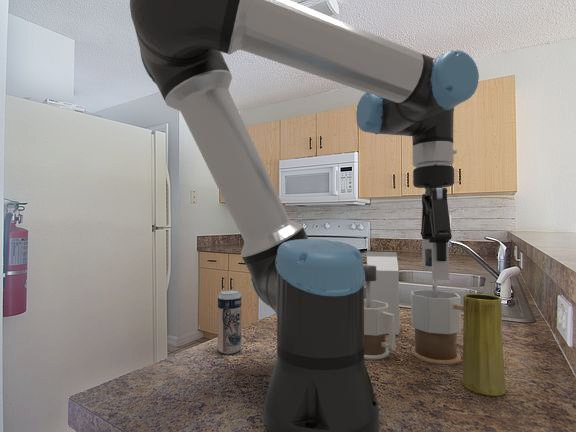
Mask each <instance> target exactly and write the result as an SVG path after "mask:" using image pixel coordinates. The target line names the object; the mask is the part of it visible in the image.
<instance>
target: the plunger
mask: <svg viewBox="0 0 576 432" xmlns="http://www.w3.org/2000/svg"><path fill="white" fill-rule="evenodd" d="M425 265H426V266H432V249H425ZM431 287H432V288H431V290H432V298H437V290H438V280H434V279H432V278H431Z"/></svg>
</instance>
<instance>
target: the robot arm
mask: <svg viewBox="0 0 576 432" xmlns="http://www.w3.org/2000/svg"><path fill="white" fill-rule="evenodd" d="M129 9H130V17H131V21H132V23H133V27H134V30H135V34H136V38H137V42H138V46H139V51H140V58H141V62H142V64H143V67H144V69H145V71H146V73H147V75H148V77H149V78H150V79H151V80H152V82H153V83H154V84H155V86H157V88H158V90H159V92H160V94H161V96H162V99H163V100H164V102H165V104H166V106H167V107H169V108H172V109H174V110H176V111H179V113H180V114H181V115H182V117H183V119H184V121H185V124H186V126H187V128H188V130H189V132H190V134H191V136H192V138H193V140H194V142H195V144H196V146H197V148H198V151H199V152H200V154H201V157H202V158H203V160H204V163H205V165H206V167H207V168H208V170H209V172H210V175H211V176H212V178H213V180H214V183H215V185H216V186H217V189H218V191H219V194H220V195H221V197H222V198H223V199H222V200H223V201H224V203H225V205H226V207H227V208H228V211H229V213H230V215H231V218H232V219H233V222H234V224H235V225H236V227H237V229H238V231H239V233H240V235H241V238H242V240H243V246H242V250H241V252H240V256H241V258H242V260H243V262H244V264H245V266H246V268H247V270H248V272H249V275H250V277H251V282H252V286H253V289H254V291H255V293H256V295H257V296H258V298H259V299H260V300H261V301H262V302H263V303H264V304H266V305H267V306H269V307H270V308H271V309H272V310H273V311H274V312H275V313H276V346H277V348H276V361H275V364H274V367H273V371H272V373H271V377H270V381H269V383H268V388H267V390H266V393H265V395H264V401H263V422H264V426H265V427H266V429H267V431H268V432H378V431H379V429H380V428H379V427H380V421H379V420H380V414H379V413H380V411H379V409H380V408H379V402H378V400H377V397H376V395H375V391H374V388H373V384H372V381H371V378H370V375H369V370H367V366H366V361H365V359H364V300H365V284H366V281H365V272H364V267H363V265H364V258H363V256H362V253H361V250H359V249H358V248H357V247H356V246H354V245H351V244H350V243H346V242H342V241H337V240H335V241H334V240H330V239H329V240H328V239H321V238H320V239H318V238H316V239H315V238H309V237H308V235H307V233H306V230H305V229H304V227H303V224H301V223H299V222H295V221H292V220H291V219H290V217H289V216H288V214H287V210H286V209H285V207H284V205H283V203H282V201H281V198H280V197H279V194H278V192H277V189H276V187H275V186H274V184H273V182H272V180H271V177H270V175H269V173H268V170H267V169H266V167H265V165H264V162H263V160H262V158H261V156H260V154H259V152H258V150H257V147H256V145H255V143H254V141H253V139H252V137H251V135H250V132H249V131H248V128H247V126H246V125H245V122H244V119H243V118H242V116H241V114H240V112H239V109H238V107H237V105H236V103H235V101H234V99H233V96H232V95H231V93H230V85H231V83H232V79H233V75H232V72H231V71H230V68H229V67H228V64H227V62H226V61H225V58H224V56H223V53H224V54H228V55H232V54H234V53H235V52H238V51H243V52H247V53H249V54H253V55H254V56H257V57H258V56H259V57H261V58H264V59H267V60H269V61H272V62H273V61H274V62H277V63H279V64H282V65H285V66H287V67H291V68H294V69H297V70H300V71H303V72H305V73H308V74H311V75H313V76H316V77H319V78H323V79H326V80H328V81H332V82H335V83H337V84H341V85H343V86H346V87H348V88H349V87H350V88H352V89H355V90H358V91H361V92H364V93H363V95H362V96H361V97H360V99H359V101H358V103H357V107H356V112H355V113H356V114H355V115H356V116H355V117H356V118H355V119H356V120H355V121H356V124H357V126H358V128H359V129H360V131H362V132H364V133H368V134H369V133H370V134H375V135H390V136H391V135H392V136H403V137H404V136H405V137H411V138H412V140H411V141H412V166H413V167H414V169H413V171H412V185H413V187H414V188H418V189H425V193H422V195H421V205H422V209H421V225H420V226H421V230H420V235H421V238H422V244H421V245H422V246H421V247H422V253H421V254H422V255H421V256H422V270H423V271H425V270H426V271H431V280H432V279H434V280H437V281H439V280H440V281H441V280H442V281H450V246H449V245H450V240H452V237H453V234H452V231H451V222H450V214H449V213H450V212H449V205H448V204H449V203H448V189H447V188H448V187H451V186H454V185H455V168H454V167H453V166H452V164H454V162H455V161H454V156H455V155H456V154H457V152H458V150H457V149H455V148H454V112H455V108H456V107H457V106H458V105H461V104H462V103H464V102H466V101H468V100H469V99H470V98H472V97H473V95H474V94H475V93H476V91H477V88H478V84H479V79H480V75H479V68H478V66H477V63H476V62H475V60H474V59H473V57H471V56H470V55H469V54H468V53H467V52H465V51H463V50H460V49H455V50H448V51H445V53H441V54H440V55H438V56H436V58H435V57H432V56H429V55H426V54H424V53H421V52H419V51H416V50H414V49H412V48H409V47H407V46H406V45H405V46H404V45H402V44H401V43H397V42H395V41H392V40H389V39H387V38H384V37H382V36H380V35H377V34H374V33H372V32H369V31H367V30H365V29H362V28H359V27H358V26H355V25H352V24H351V23H350V24H349V23H347V22H345V21H342V20H340V19H337V18H335V17H332V16H330V15H328V14H325V13H323V12H320V11H318V10H316V9H312V8H310V7H308V6H305V5H303V4H300V3H298V2H295V1H293V0H129ZM425 249H432V266H426V265H425Z"/></svg>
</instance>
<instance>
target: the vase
mask: <svg viewBox="0 0 576 432" xmlns="http://www.w3.org/2000/svg"><path fill="white" fill-rule="evenodd" d="M463 306H464V311H463V324H462V325H463V328H462V329H463V331H462V332H463V334H462V335H463V337H462V339H463V341H462V343H463V349H462V371H463V372H462V379H461V384H462V386H463V387H465V388H466V389H467V390H469V391H471V392H473V393H476V394H478V395H482V396H483V395H484V396H488V397H499V396H503V395H505V394H506V392H507V386H506V378H505V377H506V376H505V364H504V363H505V362H504V347H503V324H502V322H503V321H502V320H503V319H502V316H503V314H502V297H501V296H497V295H494V294H493V295H492V294H487V293H486V294H485V293H477V292H476V293H471V292H470V293H465V294H464V295H463Z"/></svg>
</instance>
